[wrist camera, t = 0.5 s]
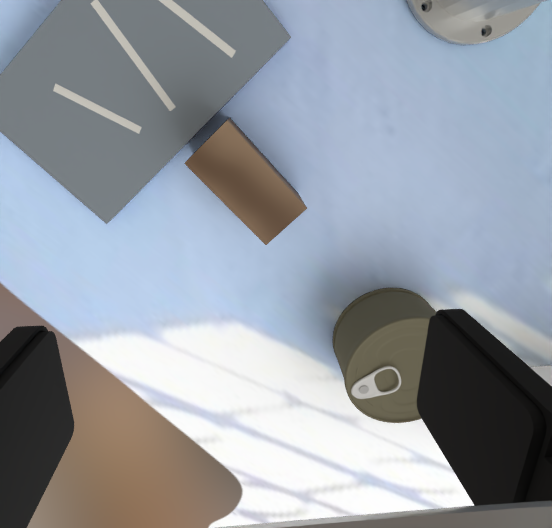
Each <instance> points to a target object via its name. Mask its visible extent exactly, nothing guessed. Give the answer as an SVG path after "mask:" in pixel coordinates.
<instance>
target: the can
mask: <svg viewBox="0 0 552 528" xmlns="http://www.w3.org/2000/svg"><path fill="white" fill-rule="evenodd" d="M436 313H437V312H436V311H435V310H434V309H433V308H432V307H431V306H430V305H429V304H428V302H427V301H426V300H424V299H423V298H422V297H421V296H419V295H418V294H416V293H414V292H412V291H409V290H406V289H401V288H383V289H378V290H374V291H371V292H369V293H366V294H364V295H362V296H361V297H359V298H357V299H356V300H355V301H353V302H352V303H351V304H350V305H349V306H348V307H347V308H346V309H345V310H344V311H343V312H342V314H341V315H340V317H339V319H338V321H337V323H336V325H335V328H334V332H333V348H334V352H335V354H336V357H337V359H338V362H339V365H340V368H341V371H342V374H343V377H344V381H345V387H346V391H347V393H348V396H349V398H350V400H351V401H352V403H353V404H354V405H355V407H356V408H357V409H358V410H360V411H361V412H362V413H363V414H365V415H367V416H369V417H371V418H373V419H376V420H379V421H383V422H390V423H403V422H410V421H415V420H418V419H421V416H420V415H419V412H418V409H417V394H418V388H419V381H420V375H421V369H422V363H423V356H424V350H425V344H426V338H427V332H428V325H429V320H430V318H431V316H435V315H436Z"/></svg>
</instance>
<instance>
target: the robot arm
mask: <svg viewBox="0 0 552 528" xmlns="http://www.w3.org/2000/svg"><path fill="white" fill-rule="evenodd" d="M544 1H547V0H407V3H408V6H409V7H410V9H411V11H412V12H413V14H414V16H415V18H416V19H417V20H418V21H419V23H420V24H421V25H422V26H423V27H424V28H425V29H426V30H427V31H428V32H430V33H431V34H432V35H434V36H435V37H437V38H439V39H441V40H444V41H446V42H448V43H453V44H459V45H473V44H480V43H484V42H488V41H491V40H494V39H496V38H499V37H501V36H504V35H505V34H507V33H509V32H510V31H512V30H513V29H515V28H517V27H518V26H519V25H520V24H521V23H523V22H524V21H525V20H526V19H527V18H528V17H529V16H530V15H531V14H532V13H533V12H534V10H535V9H536V8H537V7H538V6H539V4H540V3H541V2H544ZM421 5H424V6H425V10H424V11H423V10H422V8H421ZM482 30H483V34H482V33H481V31H482ZM417 409H418V412H419V415H420V416H421V418H422V420H423V421H424V423H425V425H426V426H427V428H428V430H429V431H430V433H431V434H432V436H433V438H434V439H435V441H436V443H437V444H438V446H439V448H440V449H441V451H442V452H443V454H444V456H445V457H446V459H447V461H448V462H449V464H450V466H451V467H452V469H453V471H454V472H455V474H456V475H457V477H458V479H459V480H460V482H461V484H462V485H463V487H464V489H465V490H466V492H467V494H468V495H469V497H470V498H471V500H472V502H473V503H474V505H475V506H465V507H453V508H441V509H428V510H416V511H404V512H391V513H379V514H367V515H354V516H343V517H331V518H320V519H308V520H297V521H285V522H274V523H262V524H251V525H240V526H228V527H217V528H552V386H551V385H550V384H549V383H547V382H546V381H545V380H544V379H543V378H542V377H540V376H539V375H538V374H537V373H536V372H535V371H534V370H532V369H531V368H530V367H529V366H528V365H527V364H525V363H524V362H523V361H522V360H521V359H520V358H519V357H517V356H516V355H515V354H514V353H513V352H512V351H510V350H509V349H508V348H507V347H506V346H505V345H504V344H502V343H501V342H500V341H499V340H498V339H497V338H495V337H494V336H493V335H492V334H491V333H490V332H489V331H487V330H486V329H485V328H484V327H483V326H482V325H481V324H479V323H478V322H477V321H476V320H475V319H474V318H472V317H471V316H470V315H469V314H468V313H467V312H466V311H464V310H463V309H448V310H439V311H437V313H436V315H435V316H431V318H430V320H429V325H428V332H427V338H426V344H425V350H424V356H423V363H422V369H421V375H420V381H419V388H418V394H417ZM73 431H74V420H73V415H72V410H71V405H70V401H69V396H68V391H67V387H66V382H65V378H64V373H63V368H62V363H61V359H60V354H59V349H58V345H57V340H56V337H55V334H54V333H53V332H52V331H48V330H47V329H46V327H44V326H25V327H16V328H14V329H13V330H12V331H11V332H10V333H9V334H8V335H7V336H6V337H5V338H4V339H3V340H2V341H1V342H0V528H27V526H28V524H29V522H30V520H31V518H32V516H33V514H34V512H35V510H36V508H37V506H38V504H39V502H40V500H41V498H42V496H43V494H44V492H45V490H46V488H47V486H48V484H49V482H50V480H51V477H52V476H53V474H54V472H55V470H56V468H57V466H58V464H59V462H60V460H61V458H62V456H63V454H64V452H65V449H66V448H67V446H68V444H69V442H70V440H71V437H72V435H73Z"/></svg>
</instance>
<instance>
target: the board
mask: <svg viewBox="0 0 552 528" xmlns="http://www.w3.org/2000/svg"><path fill="white" fill-rule="evenodd" d="M290 38H291V36H290V35H289V34H288V32H287V31H286V30H285V29H284V27H283V26H282V25H281V23H280V22H279V21H278V20H277V18H276V17H275V16H274V14H273V13H272V12H271V10H270V9H269V8H268V7H267V5H266V4H265V3H264V1H263V0H61V1H60V3H59V4H58V5H57V6H56V7H55V9H54V10H53V11H52V12H51V14H50V15H49V16H48V17H47V18H46V20H45V21H44V22H43V23H42V25H41V26H40V27H39V28H38V29H37V31H36V32H35V33H34V34H33V36H32V37H31V38H30V39H29V40H28V42H27V43H26V44H25V45H24V47H23V48H22V49H21V50H20V51H19V53H18V54H17V55H16V56H15V58H14V59H13V60H12V61H11V62H10V64H9V65H8V66H7V67H6V69H5V70H4V71H3V72H2V73H1V75H0V132H1V133H3V134H4V135H5V136H6V137H7V138H8V139H9V140H11V141H12V142H13V143H14V144H15V145H16V146H17V147H19V148H20V149H21V150H22V151H23V152H24V153H26V154H27V155H28V156H29V157H30V158H31V159H32V160H34V161H35V162H36V163H37V164H38V165H39V166H40V167H42V168H43V169H44V170H45V171H46V172H47V173H49V174H50V175H51V176H52V177H53V178H54V179H55V180H57V181H58V182H59V183H60V184H61V185H62V186H64V187H65V188H66V189H67V190H68V191H69V192H70V193H72V194H73V195H74V196H75V197H76V198H77V199H78V200H80V201H81V202H82V203H83V204H84V205H85V206H87V207H88V208H89V209H90V210H91V211H92V212H93V213H95V214H96V215H97V216H98V217H99V218H100V219H101V220H103V221H104V222H105V223H106V224H107V223H108V222H109V221H111V220H112V219H113V218H114V217H115V216H116V215H117V214H118V213H119V212H120V211H121V210H122V209H123V207H124V206H125V205H126V204H127V203H128V202H129V201H130V200H131V199H132V198H133V197H134V196H135V195H136V194H137V193H138V192H139V191H140V190H141V189H142V188H143V187H144V186H145V185H146V184H147V183H148V182H149V181H150V180H151V179H152V178H153V177H154V176H155V175H156V174H157V173H158V172H159V171H160V170H161V169H162V168H163V167H164V166H165V165H166V164H167V163H168V162H169V161H170V160H171V159H172V158H173V157H174V156H175V155H176V154H177V153H178V152H179V151H180V150H181V149H182V148H183V147H184V146H185V145H186V144H187V143H188V142H189V141H190V140H191V139H192V138H193V137H194V136H195V135H196V134H197V133H198V131H199V130H200V129H201V128H202V127H203V126H204V125H205V124H206V123H207V122H208V121H209V120H210V119H211V118H212V117H213V116H214V115H215V114H216V113H217V112H218V111H219V110H220V109H221V108H222V107H223V106H224V105H225V104H226V103H227V102H228V101H229V100H230V99H231V98H232V97H233V96H234V95H235V94H236V93H237V92H238V91H239V90H240V89H241V88H242V87H243V86H244V85H245V84H246V83H247V82H248V81H249V80H250V79H251V78H252V77H253V76H254V75H255V74H256V73H257V72H258V71H259V70H260V69H261V68H262V67H263V66H264V65H265V64H266V63H267V62H268V61H269V60H270V59H271V58H272V57H273V55H274V54H275V53H276V52H277V51H278V50H279V49H280V48H281V47H282V46H283V45H284V44H285V43H286V42H287V41H288V40H289V39H290Z"/></svg>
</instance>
